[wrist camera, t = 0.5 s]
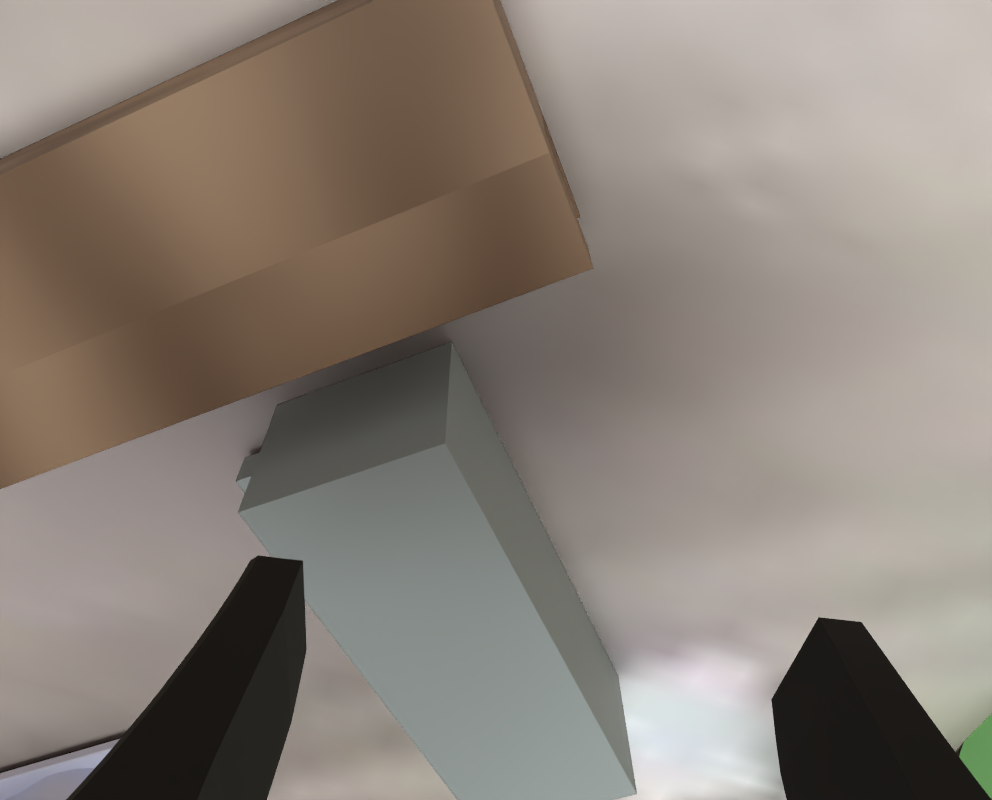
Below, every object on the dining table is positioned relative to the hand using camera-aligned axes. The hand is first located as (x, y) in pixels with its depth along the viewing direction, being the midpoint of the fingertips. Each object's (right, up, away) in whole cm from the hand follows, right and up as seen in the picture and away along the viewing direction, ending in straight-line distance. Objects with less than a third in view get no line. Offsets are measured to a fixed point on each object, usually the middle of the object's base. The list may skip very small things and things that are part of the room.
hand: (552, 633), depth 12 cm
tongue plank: (-2, -1, +14) cm, 14 cm away
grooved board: (-9, +7, +8) cm, 14 cm away
